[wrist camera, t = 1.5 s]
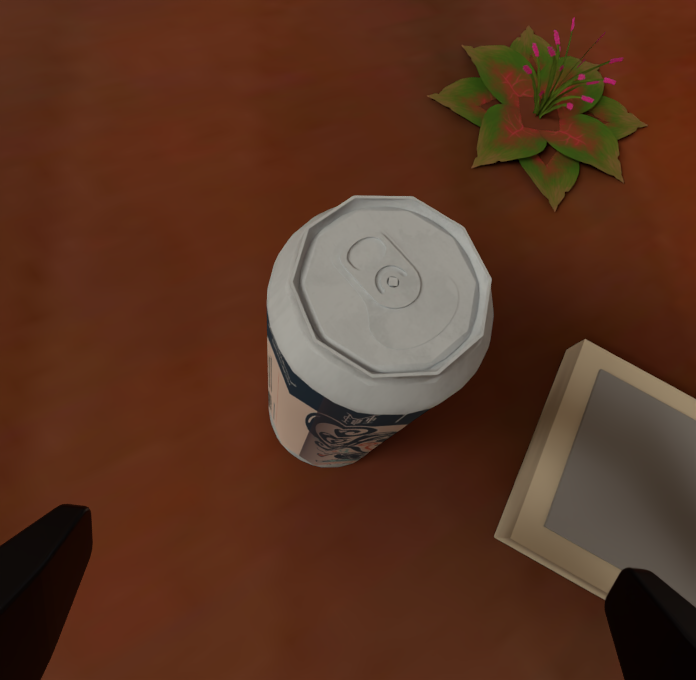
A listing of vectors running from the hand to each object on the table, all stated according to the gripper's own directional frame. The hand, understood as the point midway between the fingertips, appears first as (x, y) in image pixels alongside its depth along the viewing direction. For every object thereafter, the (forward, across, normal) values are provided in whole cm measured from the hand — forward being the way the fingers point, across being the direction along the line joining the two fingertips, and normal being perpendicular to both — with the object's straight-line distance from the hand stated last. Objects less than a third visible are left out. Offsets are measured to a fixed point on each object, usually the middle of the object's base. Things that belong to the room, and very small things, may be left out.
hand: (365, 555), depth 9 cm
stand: (+10, -13, +6) cm, 18 cm away
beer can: (+12, 0, +5) cm, 13 cm away
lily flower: (+25, -9, -7) cm, 27 cm away
